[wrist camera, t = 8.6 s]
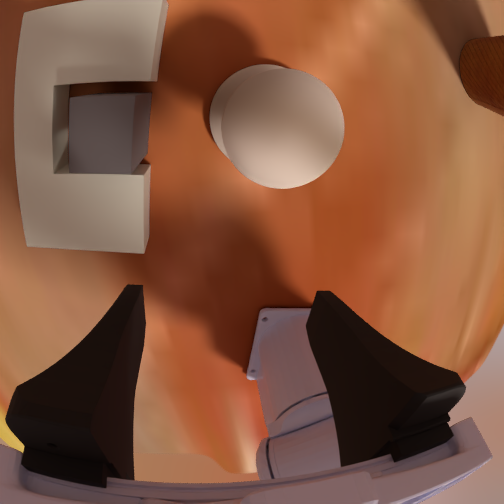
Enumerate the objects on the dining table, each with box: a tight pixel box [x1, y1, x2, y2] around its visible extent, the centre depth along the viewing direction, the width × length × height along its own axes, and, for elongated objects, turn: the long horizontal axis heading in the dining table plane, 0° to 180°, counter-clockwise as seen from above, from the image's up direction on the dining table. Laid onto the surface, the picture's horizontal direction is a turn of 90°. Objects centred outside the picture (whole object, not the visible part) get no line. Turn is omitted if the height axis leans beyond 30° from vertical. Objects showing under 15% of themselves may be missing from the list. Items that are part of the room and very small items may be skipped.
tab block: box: [69, 92, 152, 174], centre depth 16 cm, size 4×4×5 cm
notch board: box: [14, 0, 169, 254], centre depth 16 cm, size 16×9×2 cm, turn 172°
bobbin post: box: [210, 64, 344, 189], centre depth 17 cm, size 7×7×6 cm
